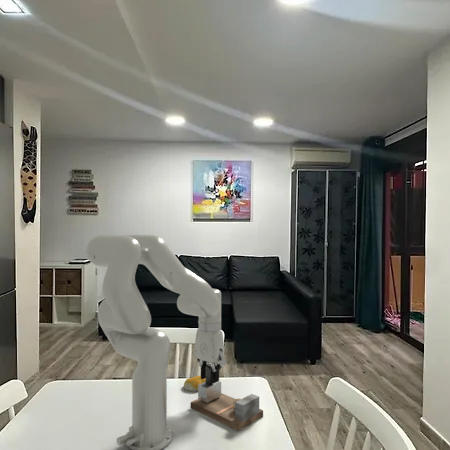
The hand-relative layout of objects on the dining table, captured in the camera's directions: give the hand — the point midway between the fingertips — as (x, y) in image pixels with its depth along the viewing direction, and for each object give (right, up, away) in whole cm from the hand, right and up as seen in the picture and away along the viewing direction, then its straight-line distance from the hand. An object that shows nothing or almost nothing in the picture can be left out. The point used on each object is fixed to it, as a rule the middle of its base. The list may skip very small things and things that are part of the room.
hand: (209, 379), depth 134 cm
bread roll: (-6, -9, +15) cm, 18 cm away
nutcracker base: (+6, -9, -5) cm, 11 cm away
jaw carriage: (0, -6, 0) cm, 6 cm away
